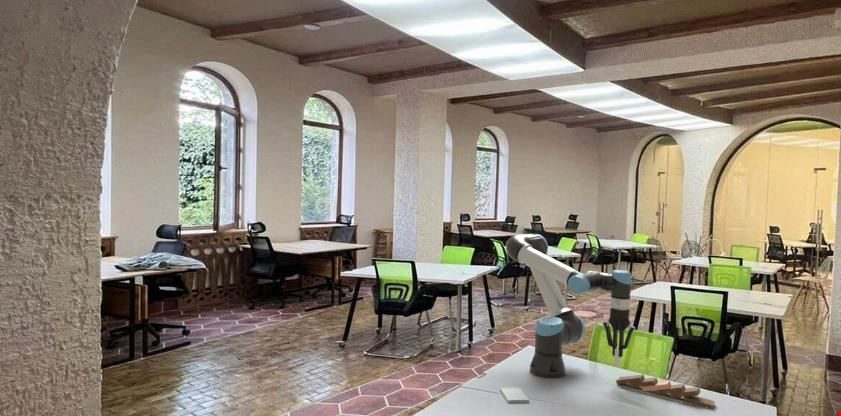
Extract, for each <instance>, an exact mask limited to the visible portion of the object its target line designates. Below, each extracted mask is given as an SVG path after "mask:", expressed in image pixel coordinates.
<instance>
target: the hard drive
mask: <svg viewBox="0 0 841 416" xmlns="http://www.w3.org/2000/svg"><path fill="white" fill-rule="evenodd" d="M499 391H500V393H501V394H502V397H504V399H505V401H506V402H507V404H529V403H530V399H529V398H528V397H527V396H526V394H525V393H524V391H523V390H522V389H521V388H520V387H499Z"/></svg>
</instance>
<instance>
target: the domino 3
mask: <svg viewBox="0 0 841 416" xmlns="http://www.w3.org/2000/svg"><path fill="white" fill-rule="evenodd" d="M671 385H672V383H671V380H663V381H658V382H657V383H656V384H655V385H654V386H645V387H641V388H642V391H652V390H662V389H669V387H670V386H671Z"/></svg>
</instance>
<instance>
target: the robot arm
mask: <svg viewBox="0 0 841 416" xmlns="http://www.w3.org/2000/svg"><path fill="white" fill-rule="evenodd" d="M548 249H549V245H548V242H547V239H546V238H545V237H544V236H542V235H541V234H538V233H526V234H523V233H522V234H514V235H512V236H511V237H510V238H509V239H508V240H507V242H506V243H505V251H506V253H507V255H508V257H510V258H511V259H512V260H514V261H516V262H518V263H519V264H521V265H523V264H524V265H525V266H527V267H529V269H530V270H531V274H532V275H533V278H534V280H535V283H536V284H537V287H538V289H539V292H540V294H541V296H542V298H543V301H544V302H545V306H546V308H547V311H548V312H549V316H542V317H540V318H539V319H538V320H536V324H535V329H534V330H535V335H534V336H535V339H534V341H535V342H534V355H533V357H532V360H531V362H530V365H529V371H530V373H531V374H533V375H534V376H537V377H541V378H546V379H560V378H564V377H565V376H566V365H565V362H564V359H563V347H564V346H568V345H570V344H575V343H577V342H579V341H581V340H582V339H583V338H584V336H585V332H586V325H585V322H584V321H583V319H582V318H581V317H579V316H578V315H575V312H574V310H573V309H571V308H570V307H568V305H567V303H566V300H565V298H564V296H563V294H562V291H561V290H560V287H559V285H558V282H560V283H562V284H563V285H565V286H567V287H568V289H569V290H570V291H571V293H573V294H577V295H579V294H580V295H581V294H582V295H583V294H586V293H591V292H596V291H597V292H598V291H603V292H609V293H610V307H609V317H608V320H607V321H606V320H605V321H603V323H602V325H603V327H604V329H605V335H606V340H607V345H608V346H609V347H611V348H612V356H613V357H614V360H613V361H614V362H613V364H614V365H616V366H619V365H620V364H621V358H622V357H623V356H624V355H623V354H624V350H626V349H628V348H629V344H630V341H631V339H632V335H633V333H634V331H635V330H636V327H635V326H633V325H632V324H631V322H630V308H631V291H632V290H631V288H632V273H631V272H630V271H628V270H624V269H623V270H621V269H614V270H612V273H607V272H601V271H596V270H588V271H587V272H586V273H582V272H580V271H578V270H577V269H574V268H573V267H570V266H569V265H567V264H565V263H563V262H561V261H559V260H556V259H555V258H552V257H550V256H549V255H548V251H549V250H548ZM557 281H558V282H557ZM611 328H612V332H611ZM627 328H628V331H627V334H626V337H625V330H626V329H627ZM618 338H619V339H618ZM624 340H625V341H624Z"/></svg>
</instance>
